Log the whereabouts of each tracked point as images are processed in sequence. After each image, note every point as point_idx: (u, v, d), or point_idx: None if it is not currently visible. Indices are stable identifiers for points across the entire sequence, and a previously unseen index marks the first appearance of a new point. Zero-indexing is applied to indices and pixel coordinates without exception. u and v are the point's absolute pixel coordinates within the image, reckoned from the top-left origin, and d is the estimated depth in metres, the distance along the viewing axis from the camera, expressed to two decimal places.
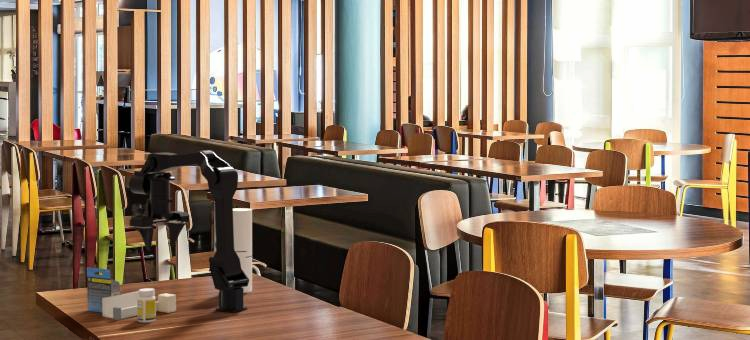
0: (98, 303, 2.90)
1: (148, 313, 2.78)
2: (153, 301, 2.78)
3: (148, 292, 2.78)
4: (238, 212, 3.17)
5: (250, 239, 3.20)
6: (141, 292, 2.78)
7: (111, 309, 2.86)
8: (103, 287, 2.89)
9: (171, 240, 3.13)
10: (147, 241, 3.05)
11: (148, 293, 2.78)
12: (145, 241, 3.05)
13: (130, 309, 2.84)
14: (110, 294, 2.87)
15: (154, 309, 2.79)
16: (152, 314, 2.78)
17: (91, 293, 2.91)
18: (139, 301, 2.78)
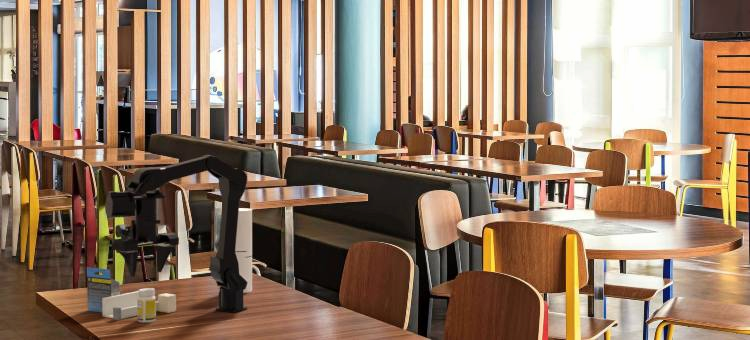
0: (98, 303, 2.90)
1: (148, 313, 2.78)
2: (153, 301, 2.78)
3: (148, 292, 2.78)
4: None
5: (250, 239, 3.20)
6: (141, 292, 2.78)
7: (111, 309, 2.86)
8: (103, 287, 2.89)
9: (159, 265, 2.84)
10: (131, 266, 2.75)
11: (148, 293, 2.78)
12: (129, 266, 2.76)
13: (130, 309, 2.84)
14: (110, 294, 2.88)
15: (154, 309, 2.79)
16: (152, 314, 2.78)
17: (91, 293, 2.91)
18: (139, 301, 2.78)
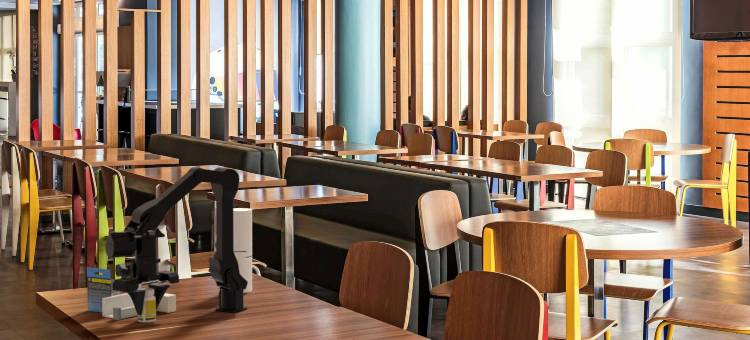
0: (98, 303, 2.90)
1: (148, 313, 2.78)
2: (153, 301, 2.78)
3: (148, 292, 2.78)
4: (238, 212, 3.17)
5: (250, 239, 3.20)
6: None
7: (111, 309, 2.86)
8: (103, 287, 2.89)
9: None
10: (138, 305, 2.76)
11: (148, 293, 2.78)
12: (136, 305, 2.77)
13: (130, 309, 2.84)
14: (110, 294, 2.88)
15: (154, 309, 2.79)
16: (152, 314, 2.78)
17: (91, 293, 2.91)
18: None
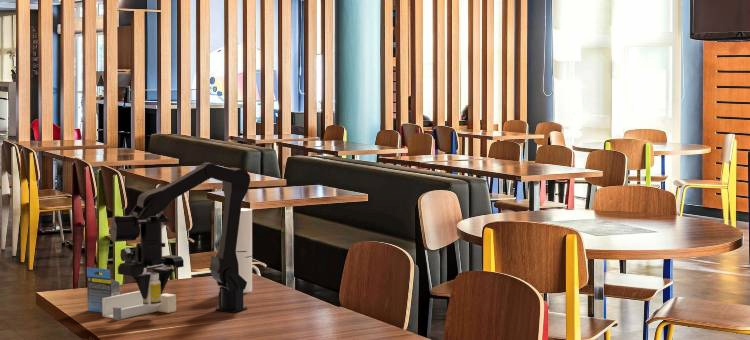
0: (98, 303, 2.90)
1: (153, 297, 2.81)
2: (158, 285, 2.81)
3: (153, 276, 2.81)
4: None
5: (250, 239, 3.20)
6: None
7: (111, 309, 2.86)
8: (103, 287, 2.89)
9: None
10: (143, 289, 2.79)
11: (153, 277, 2.81)
12: (141, 289, 2.80)
13: (130, 309, 2.84)
14: (110, 294, 2.87)
15: (159, 293, 2.82)
16: (157, 297, 2.81)
17: (91, 293, 2.91)
18: None
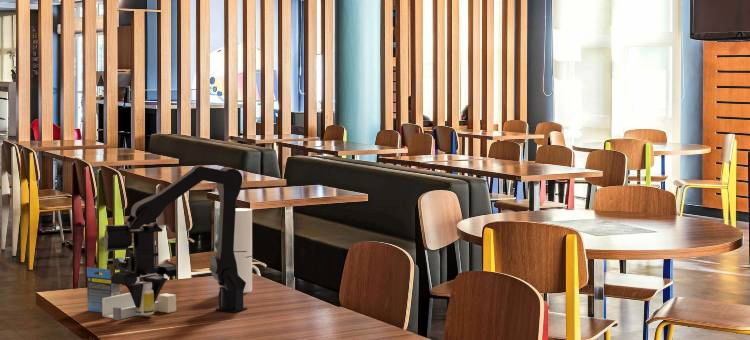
0: (98, 303, 2.90)
1: (146, 306, 2.82)
2: (151, 294, 2.83)
3: (146, 285, 2.82)
4: (238, 212, 3.17)
5: (250, 239, 3.20)
6: None
7: (111, 309, 2.86)
8: (103, 287, 2.89)
9: None
10: (136, 298, 2.81)
11: (146, 286, 2.82)
12: (134, 298, 2.81)
13: (130, 309, 2.84)
14: (110, 294, 2.87)
15: (152, 302, 2.84)
16: (150, 307, 2.83)
17: (91, 293, 2.91)
18: None
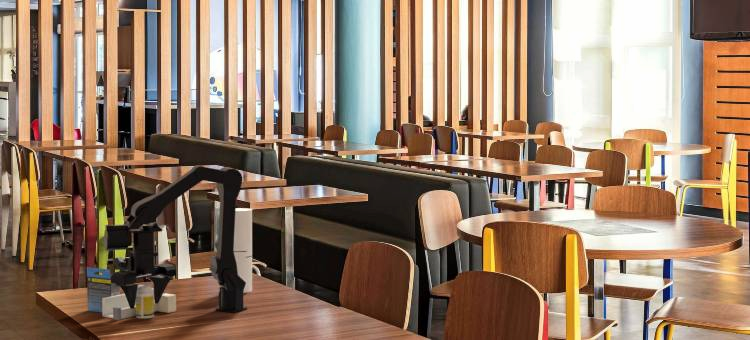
0: (98, 303, 2.90)
1: (146, 309, 2.82)
2: (151, 297, 2.83)
3: (146, 288, 2.82)
4: (238, 212, 3.17)
5: (250, 239, 3.20)
6: (139, 288, 2.82)
7: (111, 309, 2.86)
8: (103, 287, 2.89)
9: (156, 296, 2.88)
10: (130, 299, 2.80)
11: (146, 289, 2.82)
12: (128, 299, 2.80)
13: (130, 309, 2.84)
14: (110, 294, 2.87)
15: (152, 305, 2.84)
16: (150, 310, 2.83)
17: (91, 293, 2.91)
18: (137, 297, 2.83)
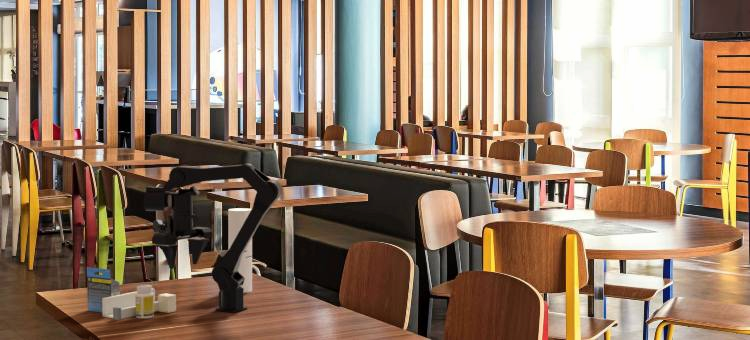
0: (98, 303, 2.90)
1: (146, 309, 2.82)
2: (151, 297, 2.83)
3: (146, 288, 2.82)
4: (238, 212, 3.17)
5: None
6: (139, 288, 2.82)
7: (111, 309, 2.86)
8: (103, 287, 2.89)
9: (194, 257, 2.99)
10: (170, 259, 2.90)
11: (146, 289, 2.82)
12: (168, 259, 2.90)
13: (130, 309, 2.84)
14: (110, 294, 2.87)
15: (152, 305, 2.84)
16: (150, 310, 2.83)
17: (91, 293, 2.91)
18: (137, 297, 2.83)
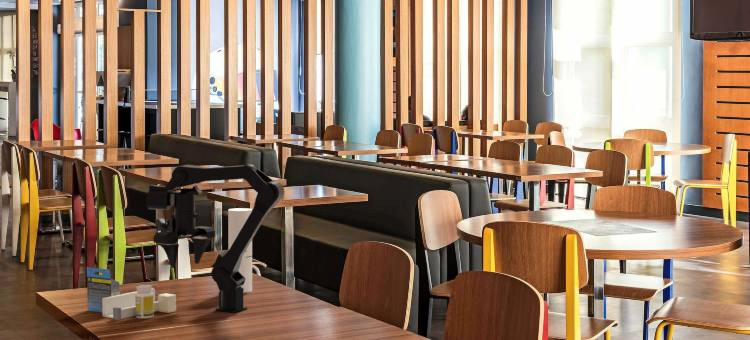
0: (98, 303, 2.90)
1: (146, 309, 2.82)
2: (150, 297, 2.83)
3: (146, 288, 2.82)
4: (238, 212, 3.17)
5: None
6: (139, 288, 2.82)
7: (111, 309, 2.86)
8: (103, 287, 2.89)
9: (196, 257, 2.99)
10: (171, 258, 2.91)
11: (146, 289, 2.82)
12: (169, 258, 2.91)
13: (130, 309, 2.84)
14: (110, 294, 2.87)
15: (152, 305, 2.84)
16: (150, 310, 2.83)
17: (91, 293, 2.91)
18: (137, 297, 2.83)
